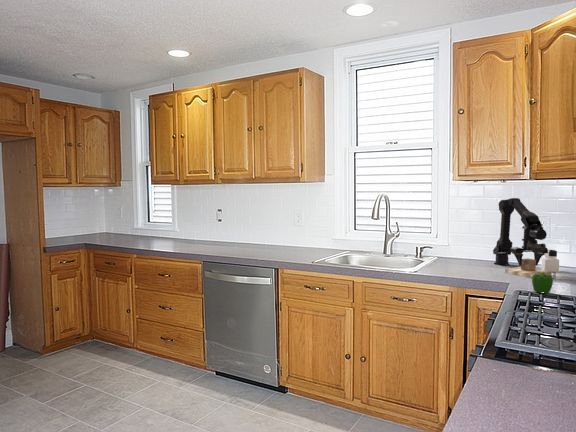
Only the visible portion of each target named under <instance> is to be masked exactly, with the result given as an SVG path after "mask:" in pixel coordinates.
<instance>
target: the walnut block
mask: <svg viewBox="0 0 576 432" xmlns="http://www.w3.org/2000/svg"><path fill="white" fill-rule="evenodd" d="M520 267H521V270H525V271H535V269H537V268H536V267H537V266H536V260H534V258H532V259H531V258H529V257H528V258H522V265H521V266H520Z"/></svg>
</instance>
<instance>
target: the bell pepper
mask: <svg viewBox="0 0 576 432" xmlns="http://www.w3.org/2000/svg"><path fill="white" fill-rule="evenodd" d="M531 283H532V284H531V285H532V288H533V291H534V292H535V291H538V292H537V293H539V292H544V293H547V294H549V293H550V292H551V290H552V287H553V284H554V279H553V276H552V275H550V276H547V275H545V272H542V273H541V275H539V274H535V275H533V277H532V278H531ZM544 293H543V294H544Z"/></svg>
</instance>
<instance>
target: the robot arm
mask: <svg viewBox="0 0 576 432" xmlns="http://www.w3.org/2000/svg"><path fill="white" fill-rule="evenodd" d="M498 211H499V213H500V214H501V218H500V231H499V232H500V233H499V238H498V240H497V241H496V245H495V247H494V248H493V250H492V253H493V255H495V262H493V264H494V265H498V266H508V265H510V263H509V260H510V259H509V256H510V255H511V254H512V255H514V257H515V258H516V261H517V263H518V265H519V266H518V267H521V265H522V259H523V257H524V254H523V253H533V256H534V257H533V259H534V260H536V267H537V266H538V264H539V262H540V260H541V259H542V257H544V255H545V253H548V250H549V249H548V248H547V247H546V246H547V245H546V244H545V243H538V240H539V241H543V240H545V239H546V238H547V231H546V230H545V229H544V227H543V226H542V223H541V220H540V217H539V216H538V215H537V214H536V213H534V212H532V211H530V210H529V209H528V208H527V207H526V205H524V204H523V202H522V201H521V199H520V198H519V197H511V198H509V199H501V200H500V201H498ZM514 211H516V212H517V214H518V215H519V216H520V221H521V223H522V224H523V226H522V227H521V229H523V238H521V241H523V243H522V244H523V245H521V247H518V246H513V241H511V239H510V231H511V230H510V229H511V215H512V214H513V212H514Z"/></svg>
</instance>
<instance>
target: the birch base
mask: <svg viewBox="0 0 576 432" xmlns="http://www.w3.org/2000/svg"><path fill="white" fill-rule="evenodd" d="M542 272H545V275H547V276H552V273H553V272H551V271H546V270H542V269H541V268H540V269H539V268H536V269H535V271H525V270H521V266H517V267H509V268H505V271H504V273H506V274H510V275H516V276H521V277H525V278H531V279H532V277H533V275H535V274H539V275H541V273H542Z"/></svg>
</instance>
